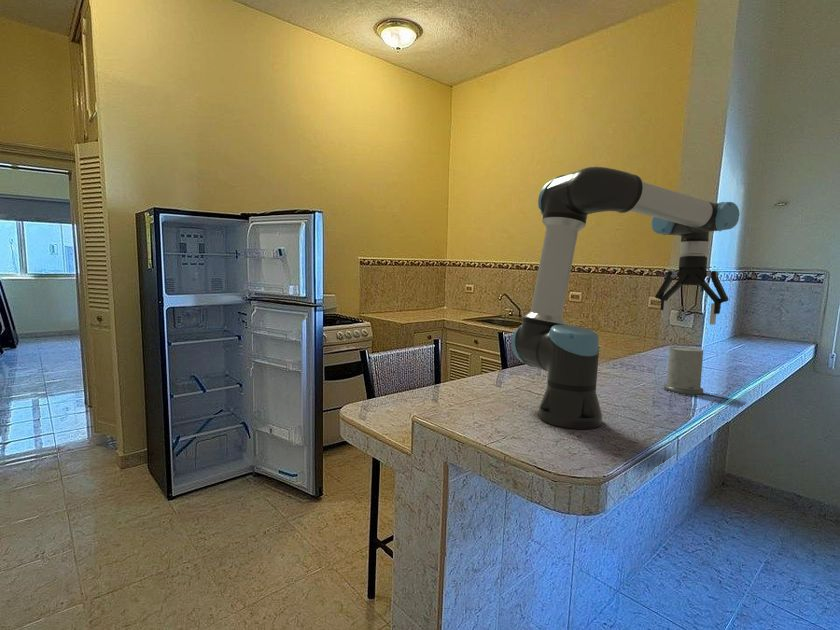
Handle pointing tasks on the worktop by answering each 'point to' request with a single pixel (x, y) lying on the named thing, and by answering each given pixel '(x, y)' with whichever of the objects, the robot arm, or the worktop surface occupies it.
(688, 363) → the grey marble cylinder
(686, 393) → the pad
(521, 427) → the worktop surface
